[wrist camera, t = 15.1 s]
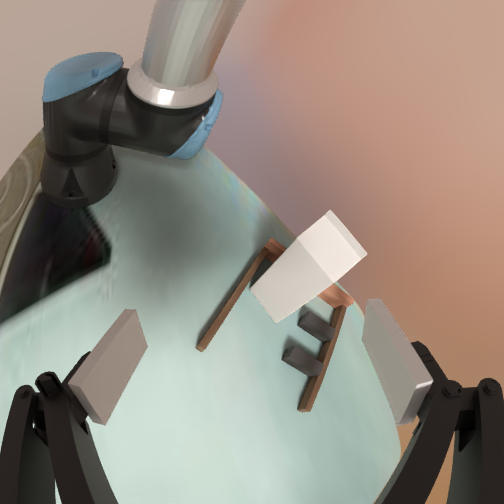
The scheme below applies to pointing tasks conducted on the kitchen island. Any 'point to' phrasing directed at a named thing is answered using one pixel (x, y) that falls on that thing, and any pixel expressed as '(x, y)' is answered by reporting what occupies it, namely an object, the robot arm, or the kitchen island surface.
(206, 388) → the kitchen island surface
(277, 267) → the milk carton
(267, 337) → the kitchen island surface
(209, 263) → the kitchen island surface
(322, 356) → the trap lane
